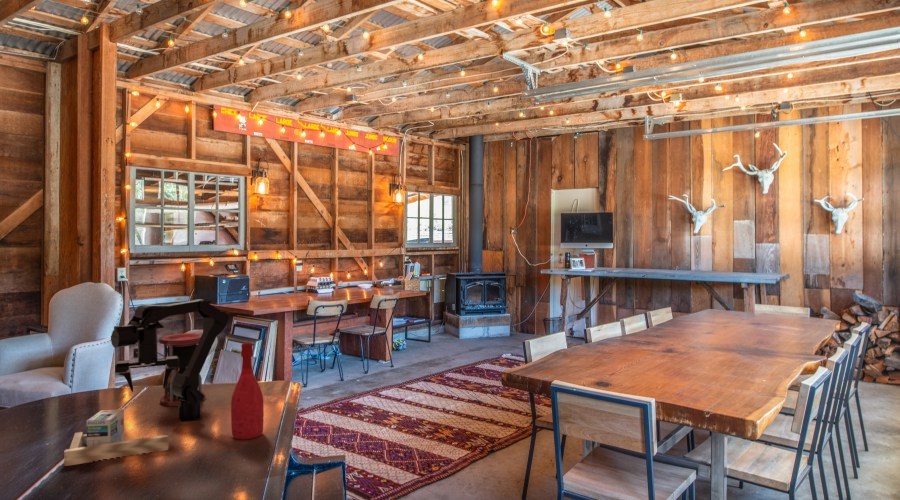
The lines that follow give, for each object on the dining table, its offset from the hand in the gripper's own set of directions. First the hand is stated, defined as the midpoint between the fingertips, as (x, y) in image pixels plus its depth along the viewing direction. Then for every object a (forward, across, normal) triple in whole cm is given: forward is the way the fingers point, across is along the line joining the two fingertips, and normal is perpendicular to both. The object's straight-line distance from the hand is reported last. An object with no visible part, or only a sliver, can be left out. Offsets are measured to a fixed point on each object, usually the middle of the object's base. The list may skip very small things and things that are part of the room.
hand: (148, 389), depth 192 cm
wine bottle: (+13, -28, +22) cm, 38 cm away
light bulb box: (+13, +11, +15) cm, 23 cm away
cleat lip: (+13, +15, +7) cm, 21 cm away
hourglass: (+13, -12, -31) cm, 36 cm away
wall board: (+13, +8, +15) cm, 22 cm away
